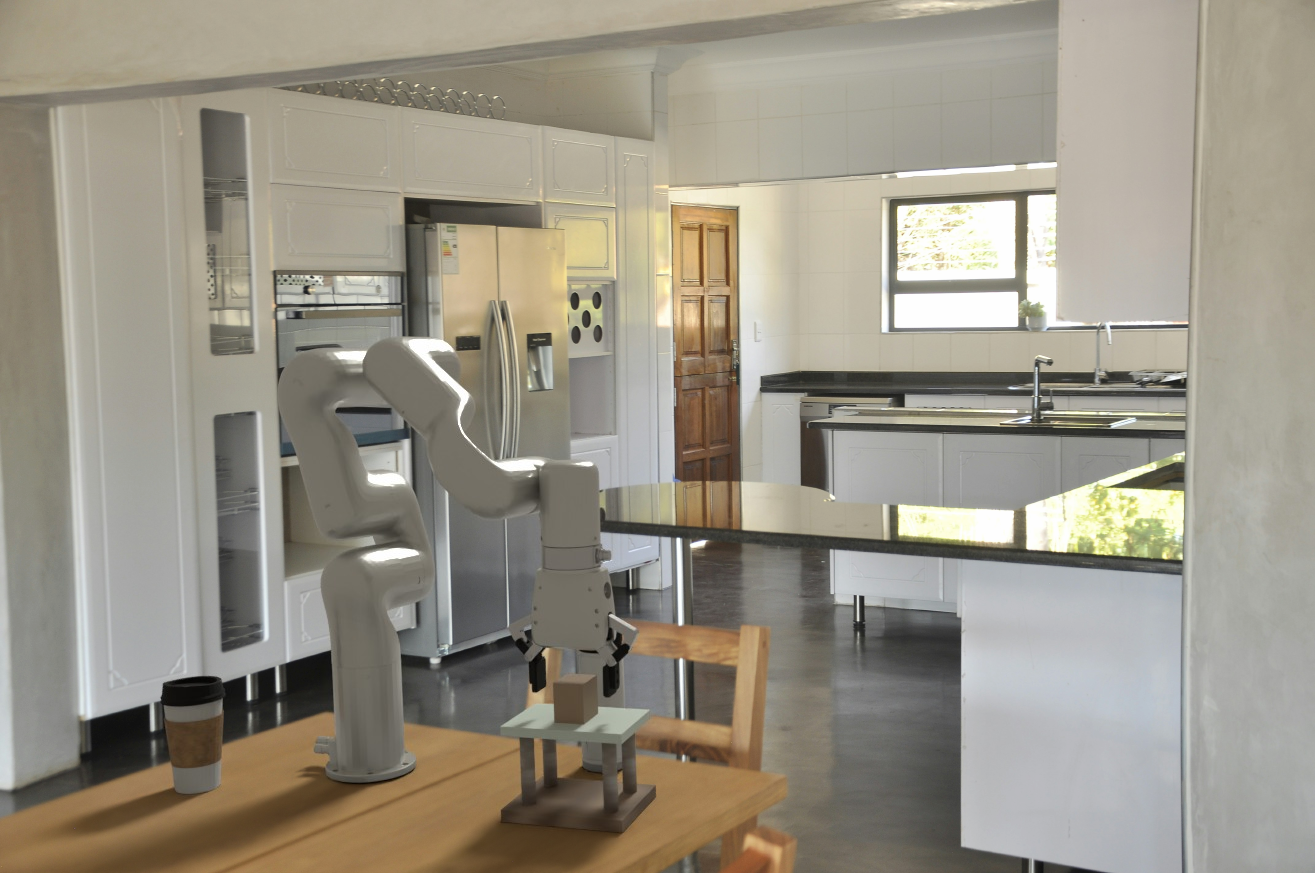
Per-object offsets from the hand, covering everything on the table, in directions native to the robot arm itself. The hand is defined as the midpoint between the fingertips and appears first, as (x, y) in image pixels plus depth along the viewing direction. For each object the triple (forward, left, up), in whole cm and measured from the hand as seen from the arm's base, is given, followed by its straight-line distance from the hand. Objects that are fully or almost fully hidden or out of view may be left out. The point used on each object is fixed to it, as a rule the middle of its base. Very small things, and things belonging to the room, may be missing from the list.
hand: (574, 692), depth 158 cm
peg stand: (0, 0, -15) cm, 15 cm away
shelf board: (0, 0, -5) cm, 5 cm away
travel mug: (-3, +17, -15) cm, 23 cm away
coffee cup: (-55, -4, -15) cm, 57 cm away
